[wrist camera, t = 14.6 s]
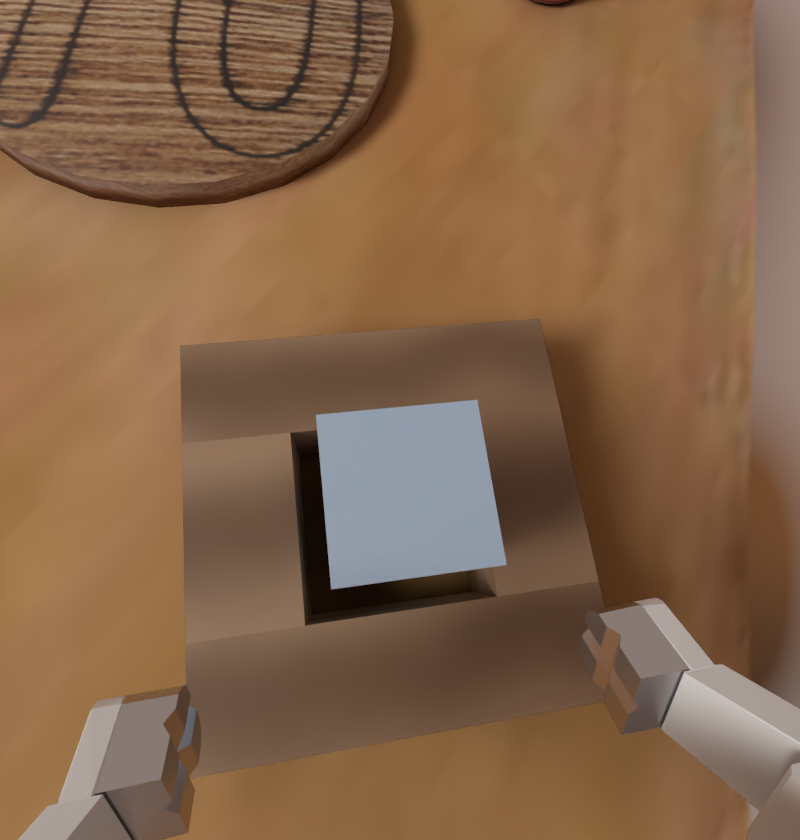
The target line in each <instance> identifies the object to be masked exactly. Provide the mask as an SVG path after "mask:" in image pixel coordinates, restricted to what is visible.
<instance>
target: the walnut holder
mask: <svg viewBox="0 0 800 840" xmlns="http://www.w3.org/2000/svg"><path fill="white" fill-rule="evenodd" d="M180 358H181V415H182V472H183V529H184V585H185V642H186V686H187V688H188V690H189V692H190V694H191V698H190V704H189V706H190V707H193V708H195V709H197V712H198V715H199V718H200V724H201V750H200V757H199V764H198V765H197V766H196V768H195V769H194V770H193V772H192V773H191V775H190V776H189V778H190V779H191V778H196V777H202V776H207V775H212V774H218V773H223V772H228V771H234V770H239V769H245V768H250V767H255V766H261V765H266V764H271V763H277V762H282V761H287V760H293V759H298V758H303V757H309V756H314V755H320V754H325V753H330V752H336V751H341V750H346V749H352V748H357V747H362V746H368V745H373V744H378V743H384V742H389V741H394V740H400V739H405V738H411V737H416V736H421V735H427V734H432V733H437V732H443V731H448V730H453V729H459V728H464V727H469V726H475V725H480V724H486V723H491V722H496V721H502V720H507V719H512V718H518V717H523V716H528V715H534V714H539V713H544V712H550V711H555V710H560V709H566V708H571V707H577V706H582V705H587V704H593V703H598V702H603V701H604V693H605V690H604V689H602V688H601V687H599V686H598V685H596V684H595V683H594V682H592V680H591V678H590V677H589V675H588V673H587V671H586V669H585V666H584V664H583V661H582V657H581V651H580V642H581V636H582V635H583V634H584V632H585V631H586V630H587V629H588V628H589V627H588V626H587V624H586V622H585V619H586V615H587V613H588V612H589V611H590V610H591V609H596V608H601V607H605V606H604V602H603V597H602V593H601V588H600V584H599V580H598V575H597V571H596V566H595V562H594V557H593V553H592V549H591V544H590V540H589V535H588V531H587V526H586V522H585V518H584V513H583V509H582V504H581V500H580V495H579V491H578V487H577V482H576V478H575V473H574V469H573V464H572V460H571V456H570V451H569V447H568V442H567V438H566V434H565V429H564V425H563V420H562V416H561V411H560V407H559V403H558V398H557V394H556V389H555V385H554V380H553V376H552V372H551V367H550V363H549V358H548V354H547V349H546V345H545V341H544V336H543V332H542V327H541V323H540V319H530V320H517V321H503V322H490V323H477V324H463V325H450V326H437V327H424V328H410V329H397V330H384V331H370V332H357V333H344V334H330V335H317V336H304V337H290V338H277V339H264V340H250V341H237V342H224V343H210V344H197V345H184V346H180ZM469 400H477V401H478V406H479V412H480V418H481V423H482V429H483V435H484V440H485V446H486V451H487V457H488V463H489V468H490V474H491V479H492V485H493V491H494V496H495V502H496V508H497V513H498V519H499V524H500V530H501V536H502V541H503V547H504V552H505V558H506V564H507V565H503V566H496V567H489V568H482V569H475V570H468V573H469V579H470V585H471V591H468V592H462V593H455V594H448V595H441V596H435V597H428V598H421V599H415V600H408V601H401V602H395V603H388V604H381V605H374V606H368V607H361V608H354V609H348V610H341V611H334V612H328V613H321V614H314V615H312V603H311V591H310V578H309V566H308V553H307V541H306V529H305V516H304V504H303V491H302V479H301V467H300V454H309V453H318V452H319V445H318V434H317V422H316V415H319V414H330V413H340V412H351V411H362V410H373V409H383V408H394V407H405V406H416V405H426V404H437V403H448V402H459V401H469Z"/></svg>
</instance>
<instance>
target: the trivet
mask: <svg viewBox="0 0 800 840" xmlns="http://www.w3.org/2000/svg"><path fill="white" fill-rule="evenodd" d="M393 22H394V15H393V11H392V6H391V2H390V0H0V150H1V151H2V152H4V153H5V154H7V155H8V156H9V157H11V158H12V159H14V160H15V161H16V162H18V163H19V164H21V165H22V166H23V167H25V168H26V169H27V170H29V171H30V172H32V173H33V174H34V175H36V176H39V177H41V178H44V179H46V180H49V181H52V182H54V183H57V184H59V185H62V186H65V187H67V188H70V189H72V190H75V191H77V192H80V193H83V194H85V195H88V196H90V197H93V198H97V199H104V200H111V201H118V202H125V203H132V204H138V205H145V206H152V207H159V208H160V207H175V206H190V205H205V204H220V203H227V202H230V201H233V200H237V199H240V198H244V197H247V196H251V195H254V194H257V193H261V192H264V191H268V190H271V189H275V188H278V187H281V186H284V185H286V184H287V183H289V182H291V181H293V180H294V179H296V178H298V177H300V176H301V175H303V174H305V173H307V172H308V171H310V170H312V169H314V168H315V167H317V166H319V165H321V164H322V163H324V162H326V161H328V160H329V159H331V158H332V157H333V156H334V155H335V154H336V153H337V152H338V151H339V150H340V149H341V148H342V147H343V146H344V145H345V144H346V143H347V142H348V141H349V140H350V139H351V138H352V137H353V136H354V135H355V134H356V133H357V132H358V131H359V130H360V129H361V128H362V127H363V126H364V125H365V124H366V123H367V121H368V119H369V117H370V115H371V113H372V111H373V109H374V107H375V105H376V103H377V101H378V99H379V97H380V95H381V93H382V92H383V90H384V88H385V86H386V82H387V75H388V67H389V60H390V52H391V45H392V34H393Z"/></svg>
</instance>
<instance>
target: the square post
mask: <svg viewBox="0 0 800 840" xmlns="http://www.w3.org/2000/svg"><path fill="white" fill-rule="evenodd" d="M316 422H317V434H318V445H319V457H320V468H321V479H322V491H323V502H324V514H325V525H326V536H327V548H328V559H329V571H330V582H331V590H332V589H339V588H346V587H353V586H360V585H367V584H375V583H382V582H389V581H396V580H403V579H410V578H417V577H425V576H432V575H439V574H446V573H453V572H460V571H468V570H475V569H482V568H489V567H496V566H503V565H507V564H506V558H505V552H504V547H503V541H502V536H501V530H500V524H499V519H498V513H497V508H496V502H495V496H494V491H493V485H492V479H491V474H490V468H489V463H488V457H487V451H486V446H485V440H484V435H483V429H482V423H481V418H480V412H479V406H478V401H477V400H469V401H459V402H448V403H437V404H426V405H416V406H405V407H394V408H383V409H373V410H362V411H351V412H340V413H330V414H319V415H316Z"/></svg>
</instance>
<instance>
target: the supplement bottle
mask: <svg viewBox="0 0 800 840" xmlns="http://www.w3.org/2000/svg"><path fill="white" fill-rule="evenodd" d="M532 1H535V2H539V3H544V4H558V3H560V4H561V3H564V2H567V1H570V0H532Z"/></svg>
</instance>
